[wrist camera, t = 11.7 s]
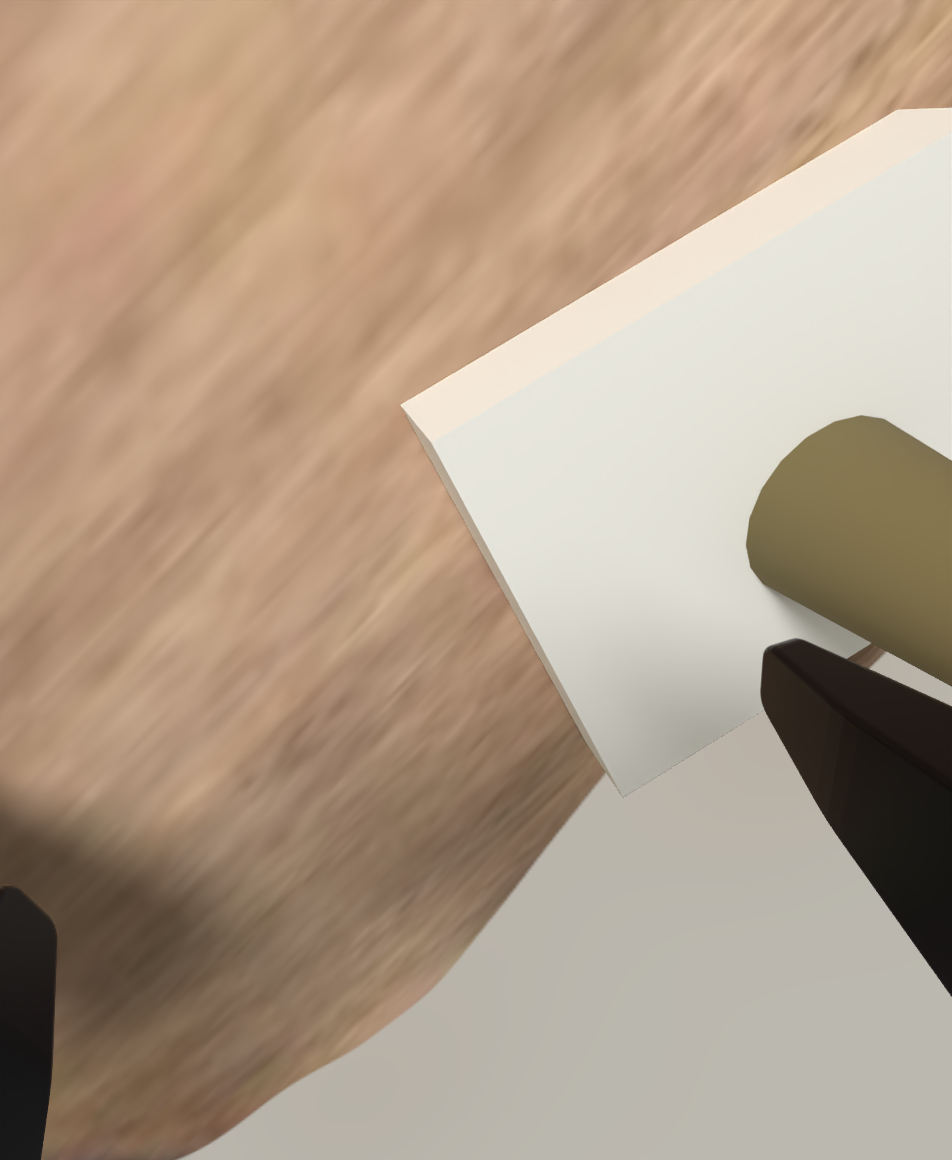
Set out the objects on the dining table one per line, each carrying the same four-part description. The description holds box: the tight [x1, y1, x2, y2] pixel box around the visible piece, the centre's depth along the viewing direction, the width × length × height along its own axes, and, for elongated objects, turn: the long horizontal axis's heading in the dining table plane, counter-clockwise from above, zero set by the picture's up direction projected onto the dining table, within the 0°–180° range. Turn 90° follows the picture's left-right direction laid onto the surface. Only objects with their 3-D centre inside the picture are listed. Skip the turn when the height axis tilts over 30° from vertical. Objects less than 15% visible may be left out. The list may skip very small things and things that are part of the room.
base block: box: [401, 108, 952, 798], centre depth 23 cm, size 16×16×3 cm
